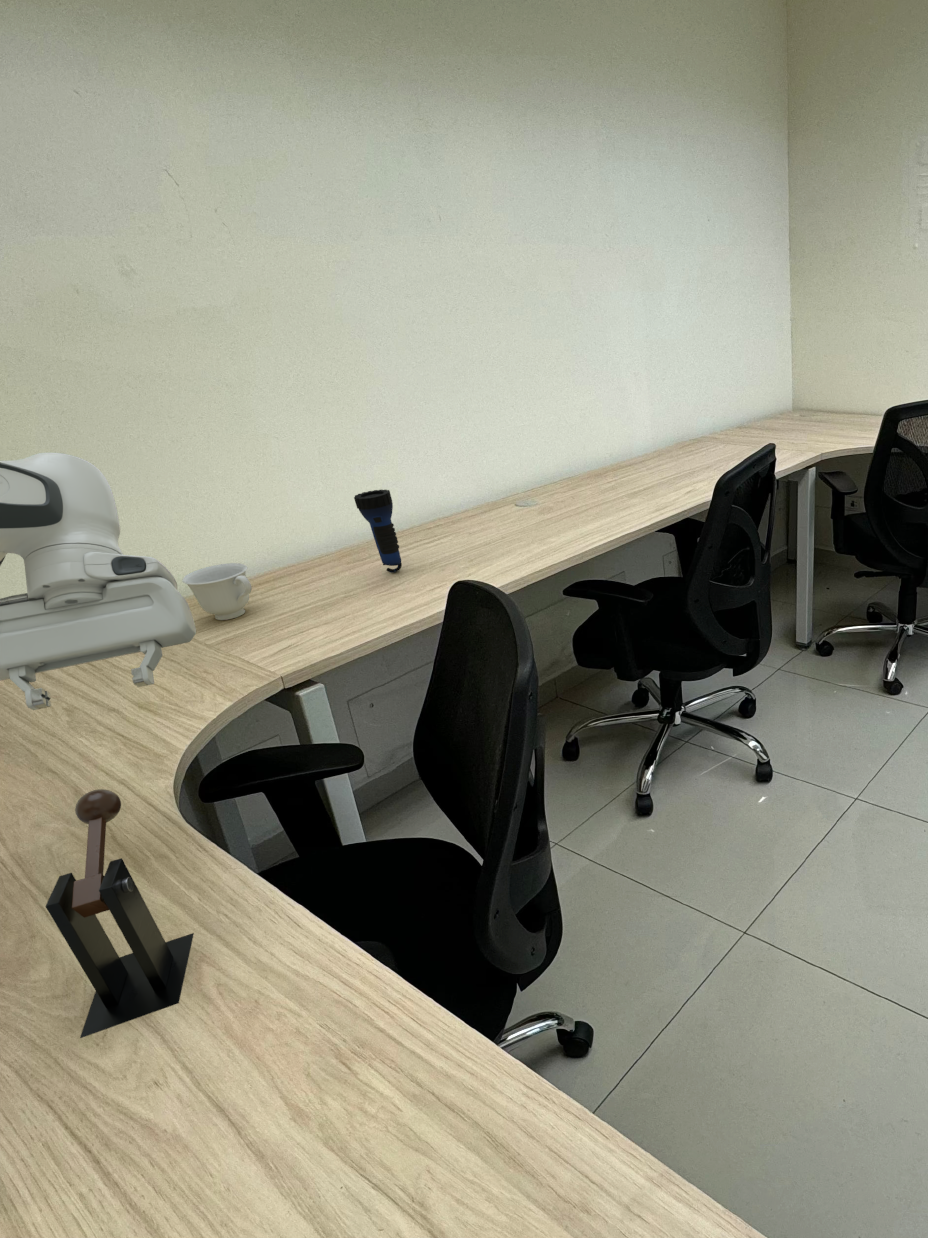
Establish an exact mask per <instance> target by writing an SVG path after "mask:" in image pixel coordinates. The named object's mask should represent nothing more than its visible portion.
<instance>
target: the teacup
mask: <svg viewBox="0 0 928 1238" xmlns="http://www.w3.org/2000/svg"><path fill="white" fill-rule="evenodd" d="M247 569H248V566H247V565H245V564H244V563H240V562H239V563H238V562H229V563H220V564H219V563H218V564H214V565H210V566H209V565H208V566H206V567H203V568H199V569H197V570H194V571H192V572H189V573H187V574H186V575H184V577H183V578H182V580H181V583H183V584H185V585H186V586H187V587H188V588H189V589H190V590H191V592H192V594H193V596H194V598H195V599H196V601H197V603H198V604H199V607H200V608H201V609H202V610H203V611H204V612H206V613H208V614H210V615H214V618H215V620H217V621H227V620H232V619H235V618H239V617H241V616H242V615H244V614H245V613H246V609H245V607H246V606H247V605H248V604H249V601H250V594H251V593H252V588H253V587H252V586H253V585H252V583H251V582H250V581H251V580H250V579H249V578H248V577H247V576H246V572H247Z"/></svg>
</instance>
